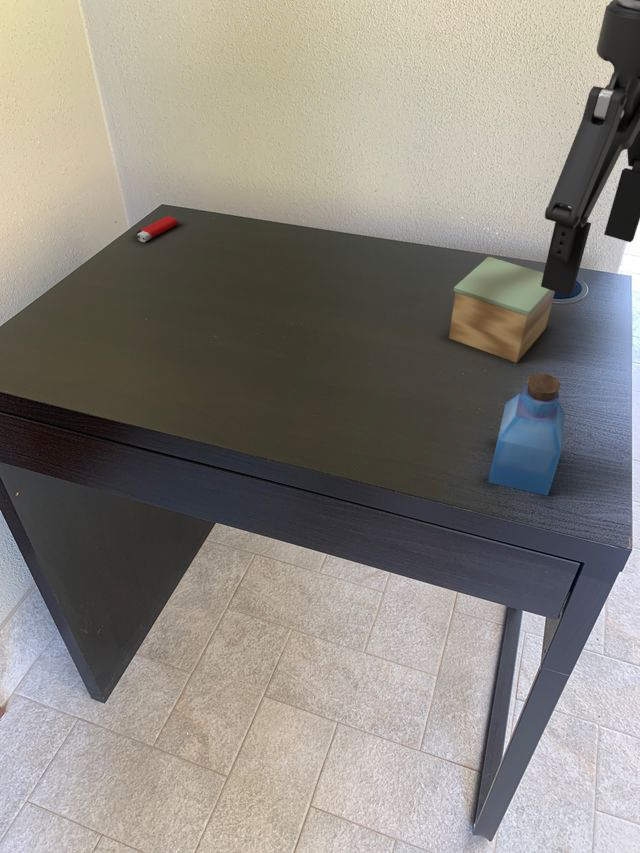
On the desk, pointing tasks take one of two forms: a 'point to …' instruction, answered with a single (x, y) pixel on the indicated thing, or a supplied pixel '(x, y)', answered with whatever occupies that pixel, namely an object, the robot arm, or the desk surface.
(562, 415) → the perfume bottle
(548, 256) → the robot arm
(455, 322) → the pale green square pedestal
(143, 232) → the lighter
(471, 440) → the desk surface
